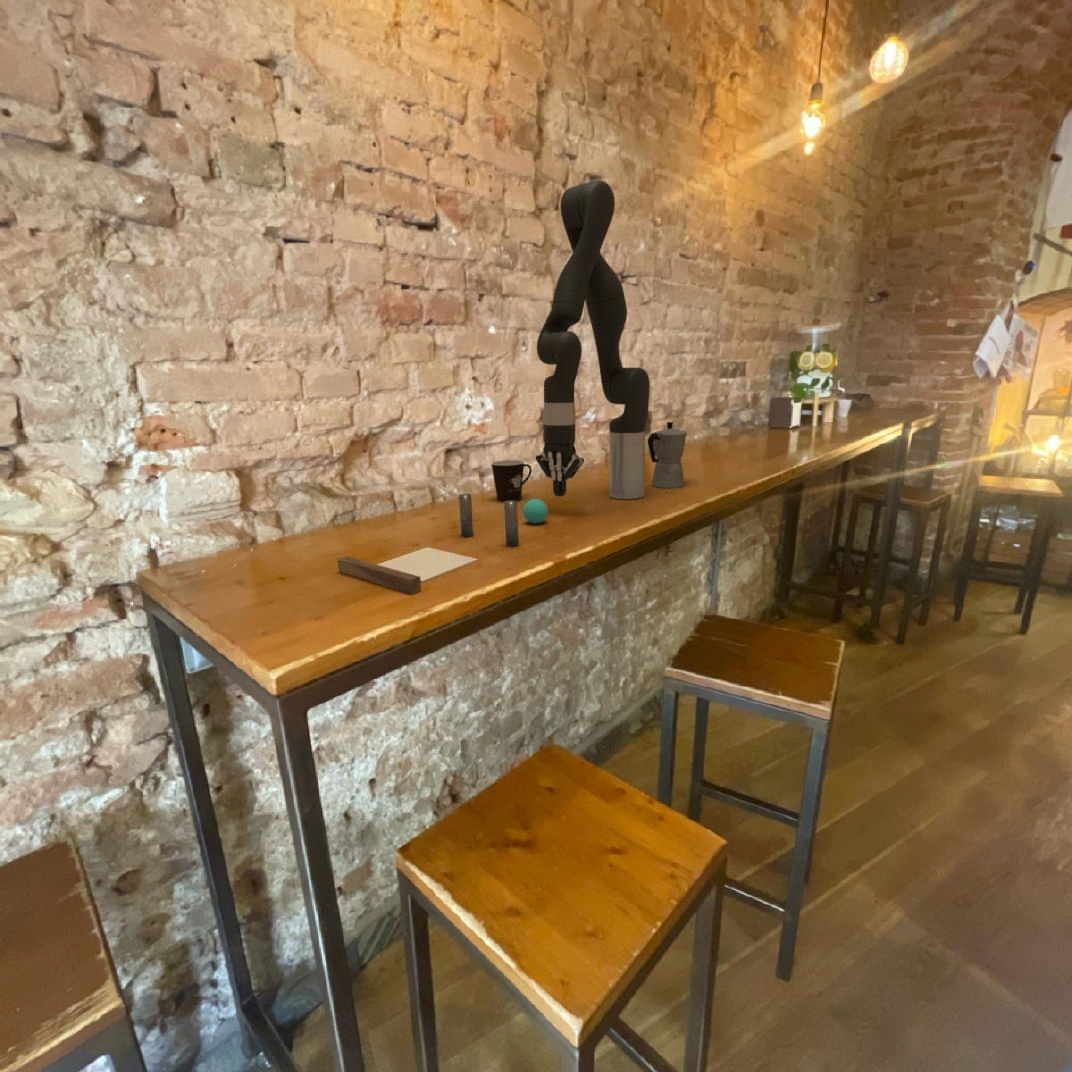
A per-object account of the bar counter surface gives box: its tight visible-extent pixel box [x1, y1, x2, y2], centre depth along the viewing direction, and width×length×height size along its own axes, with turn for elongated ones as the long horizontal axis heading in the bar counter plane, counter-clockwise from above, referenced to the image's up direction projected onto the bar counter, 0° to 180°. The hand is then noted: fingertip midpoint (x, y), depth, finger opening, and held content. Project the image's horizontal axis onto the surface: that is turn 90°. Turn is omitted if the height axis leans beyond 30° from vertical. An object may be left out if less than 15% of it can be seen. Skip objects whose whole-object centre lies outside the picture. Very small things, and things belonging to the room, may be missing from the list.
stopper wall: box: [337, 555, 422, 595], centre depth 107 cm, size 2×20×2 cm, turn 52°
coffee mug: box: [491, 459, 533, 503], centre depth 164 cm, size 12×9×10 cm
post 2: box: [503, 500, 520, 548], centre depth 124 cm, size 3×3×9 cm
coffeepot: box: [647, 421, 688, 490], centre depth 173 cm, size 15×9×18 cm, turn 129°
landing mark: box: [376, 547, 479, 583], centre depth 116 cm, size 14×14×1 cm
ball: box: [523, 498, 549, 524], centre depth 140 cm, size 6×6×6 cm
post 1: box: [458, 493, 474, 538], centre depth 132 cm, size 3×3×9 cm
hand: (559, 495), depth 147 cm, fingers closed
